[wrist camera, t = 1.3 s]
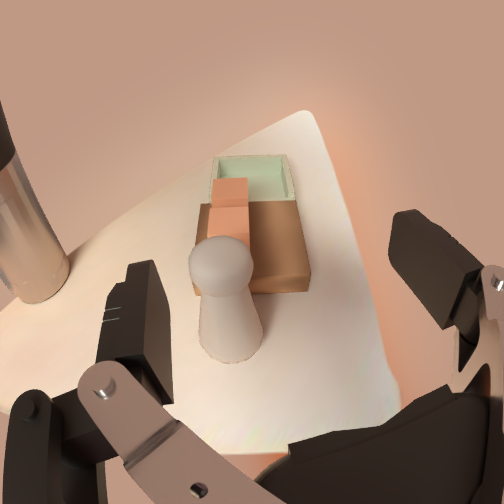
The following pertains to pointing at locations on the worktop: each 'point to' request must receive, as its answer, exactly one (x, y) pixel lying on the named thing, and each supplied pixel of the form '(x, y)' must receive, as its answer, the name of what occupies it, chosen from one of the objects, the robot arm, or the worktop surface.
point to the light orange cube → (230, 223)
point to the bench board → (271, 247)
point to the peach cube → (229, 192)
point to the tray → (257, 175)
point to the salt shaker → (225, 299)
